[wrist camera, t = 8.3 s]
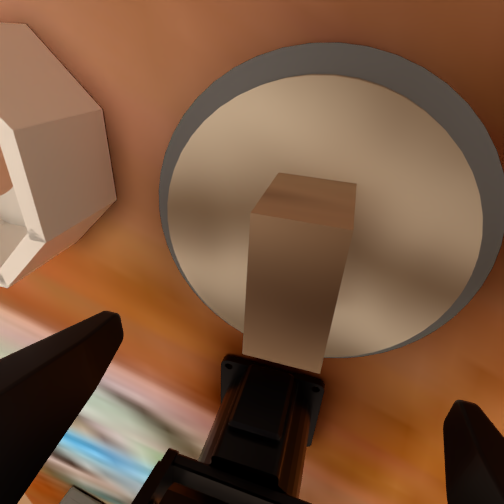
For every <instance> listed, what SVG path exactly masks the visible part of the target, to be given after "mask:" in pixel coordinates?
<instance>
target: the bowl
mask: <svg viewBox="0 0 504 504" xmlns="http://www.w3.org/2000/svg"><path fill="white" fill-rule="evenodd" d="M0 146H1V150H2V153H3V156H4V159H5V162H6V165H7V168H8V172H9V175H10V178H11V181H12V184H13V187H12V188H11V189H10V190H9V191H8V192H6V193H5V194H3V195H1V196H0V286H1V287H5V288H9V287H10V286H12V285H13V284H15V283H16V282H18V281H19V280H21V279H22V278H24V277H25V276H27V275H28V274H30V273H31V272H33V271H34V270H36V269H37V268H39V267H40V266H42V265H43V264H45V263H46V262H48V261H49V260H51V259H52V258H53V257H55V256H56V255H58V254H59V253H61V252H62V251H64V250H65V249H67V248H68V247H70V246H71V245H73V244H74V243H76V242H77V241H78V240H79V239H80V238H81V237H82V236H83V235H84V234H85V233H86V232H87V231H88V230H89V228H90V227H91V226H92V225H93V224H94V223H95V222H96V221H97V220H98V219H99V218H100V217H101V216H102V215H103V214H104V212H105V211H106V210H107V209H108V208H109V207H110V206H111V205H112V204H113V203H114V202H115V201H116V200H117V198H116V192H115V186H114V179H113V173H112V167H111V161H110V154H109V148H108V142H107V136H106V129H105V123H104V117H103V111H102V108H101V107H100V106H99V105H98V104H97V103H96V102H95V101H94V99H93V98H92V97H91V96H90V95H89V94H88V93H87V92H86V91H85V89H84V88H83V87H82V86H81V85H80V84H79V83H78V82H77V80H76V79H75V78H74V77H73V76H72V75H71V74H70V73H69V72H68V70H67V69H66V68H65V67H64V66H63V65H62V64H61V63H60V61H59V60H58V59H57V58H56V57H55V56H54V55H53V54H52V53H51V51H50V50H49V49H48V48H47V47H46V46H45V45H44V44H43V42H42V41H41V40H40V39H39V38H38V37H37V36H36V35H35V34H34V32H33V31H32V30H31V29H30V28H29V27H28V26H27V24H19V23H4V22H0Z"/></svg>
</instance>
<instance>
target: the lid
mask: <svg viewBox="0 0 504 504" xmlns="http://www.w3.org/2000/svg"><path fill="white" fill-rule="evenodd" d="M167 208H168V226H169V233H170V238H171V242H172V245H173V249H174V252H175V255H176V257H177V260H178V262H179V264H180V267H181V269H182V270H183V272H184V274H185V276H186V278H187V280H188V281H189V283H190V284H191V285H192V287H193V288H194V290H195V291H196V293H197V294H198V295H199V296H200V297H201V298H202V300H203V301H204V302H205V303H206V304H207V305H208V306H209V307H210V308H211V309H212V310H213V311H214V312H215V313H216V314H217V315H218V316H220V317H221V318H222V319H223V320H225V321H226V322H227V323H229V324H230V325H231V326H233V327H234V328H236V329H237V330H239V331H241V332H242V333H243V350H242V354H244V355H248V356H252V357H256V358H260V359H264V360H268V361H272V362H275V363H279V364H283V365H287V366H291V367H295V368H299V369H303V370H306V371H310V372H314V373H318V374H320V371H321V367H322V363H323V358H324V357H346V356H357V355H362V354H367V353H373V352H376V351H379V350H383V349H386V348H390V347H392V346H394V345H397V344H399V343H401V342H404V341H406V340H408V339H410V338H411V337H413V336H415V335H417V334H419V333H420V332H422V331H423V330H425V329H426V328H427V327H429V326H430V325H431V324H433V323H434V322H435V321H437V320H438V319H439V318H440V317H441V316H442V315H443V314H444V313H445V312H446V311H447V310H448V309H449V308H450V307H451V306H452V305H453V303H454V302H455V301H456V299H457V298H458V297H459V296H460V294H461V293H462V291H463V290H464V288H465V286H466V284H467V282H468V281H469V279H470V277H471V275H472V273H473V270H474V267H475V265H476V262H477V259H478V256H479V251H480V246H481V241H482V230H483V213H482V206H481V199H480V193H479V190H478V187H477V184H476V181H475V178H474V175H473V172H472V170H471V168H470V166H469V164H468V162H467V160H466V159H465V157H464V155H463V153H462V151H461V150H460V148H459V147H458V146H457V144H456V143H455V142H454V141H453V139H452V138H451V137H450V135H449V134H448V133H447V131H446V130H445V129H444V128H443V127H442V126H441V125H440V124H439V123H438V122H437V121H436V120H435V119H434V118H433V117H432V116H430V115H429V114H428V113H427V112H426V111H425V110H424V109H423V108H421V107H420V106H418V105H417V104H415V103H414V102H413V101H411V100H410V99H408V98H407V97H405V96H404V95H402V94H399V93H397V92H395V91H393V90H391V89H389V88H387V87H385V86H383V85H380V84H377V83H374V82H371V81H367V80H364V79H361V78H356V77H350V76H344V75H337V74H306V75H299V76H292V77H286V78H283V79H279V80H276V81H272V82H269V83H265V84H263V85H260V86H258V87H256V88H253V89H251V90H249V91H247V92H245V93H242V94H240V95H238V96H236V97H235V98H233V99H232V100H230V101H229V102H227V103H226V104H224V105H223V106H221V107H220V108H218V109H217V110H216V111H215V112H214V113H213V114H212V115H210V116H209V117H208V118H207V119H206V120H205V121H204V122H203V123H202V124H201V125H200V127H199V128H198V129H197V130H196V131H195V132H194V134H193V135H192V136H191V138H190V139H189V141H188V142H187V144H186V146H185V147H184V149H183V150H182V152H181V154H180V157H179V159H178V161H177V164H176V166H175V168H174V171H173V175H172V179H171V183H170V186H169V194H168V203H167Z"/></svg>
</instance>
